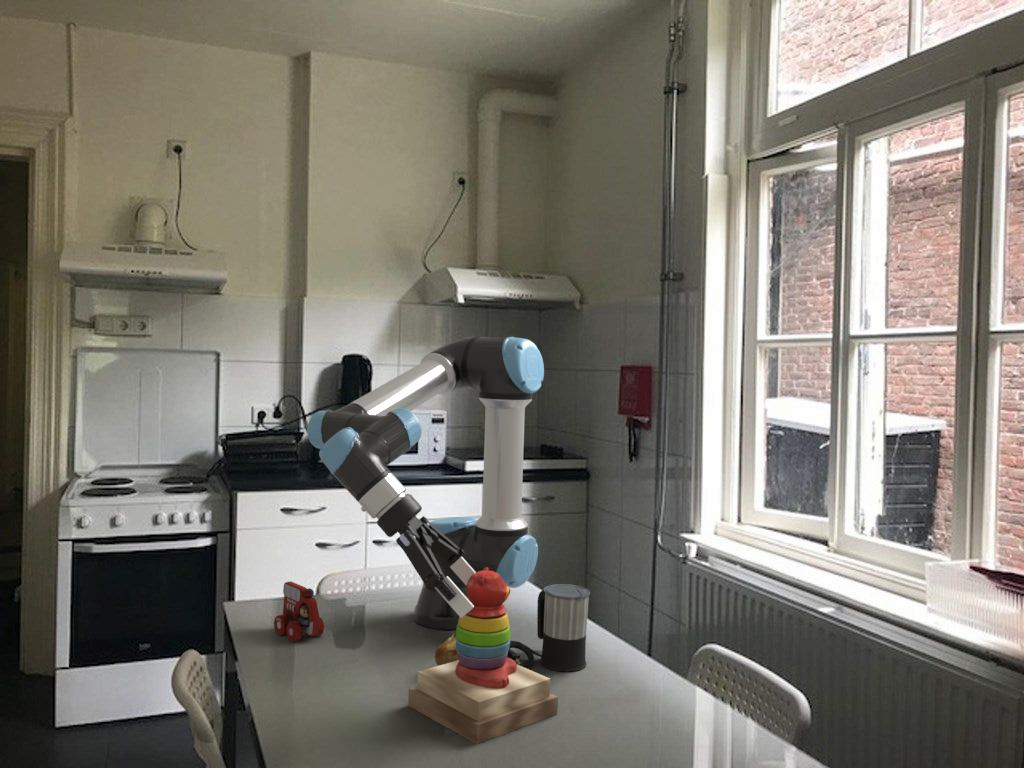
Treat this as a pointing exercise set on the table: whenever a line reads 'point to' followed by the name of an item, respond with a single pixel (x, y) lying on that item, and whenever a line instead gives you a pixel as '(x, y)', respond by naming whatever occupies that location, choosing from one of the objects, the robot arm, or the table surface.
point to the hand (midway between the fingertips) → (474, 600)
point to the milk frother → (559, 629)
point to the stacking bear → (485, 633)
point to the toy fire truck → (298, 613)
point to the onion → (447, 651)
